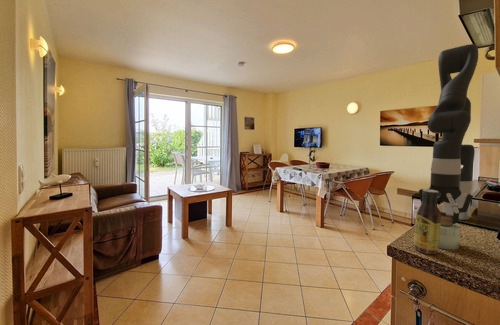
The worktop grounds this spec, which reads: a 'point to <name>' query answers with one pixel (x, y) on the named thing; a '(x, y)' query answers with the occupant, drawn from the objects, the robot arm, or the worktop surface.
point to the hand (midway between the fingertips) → (442, 221)
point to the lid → (446, 219)
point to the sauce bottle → (428, 223)
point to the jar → (449, 237)
